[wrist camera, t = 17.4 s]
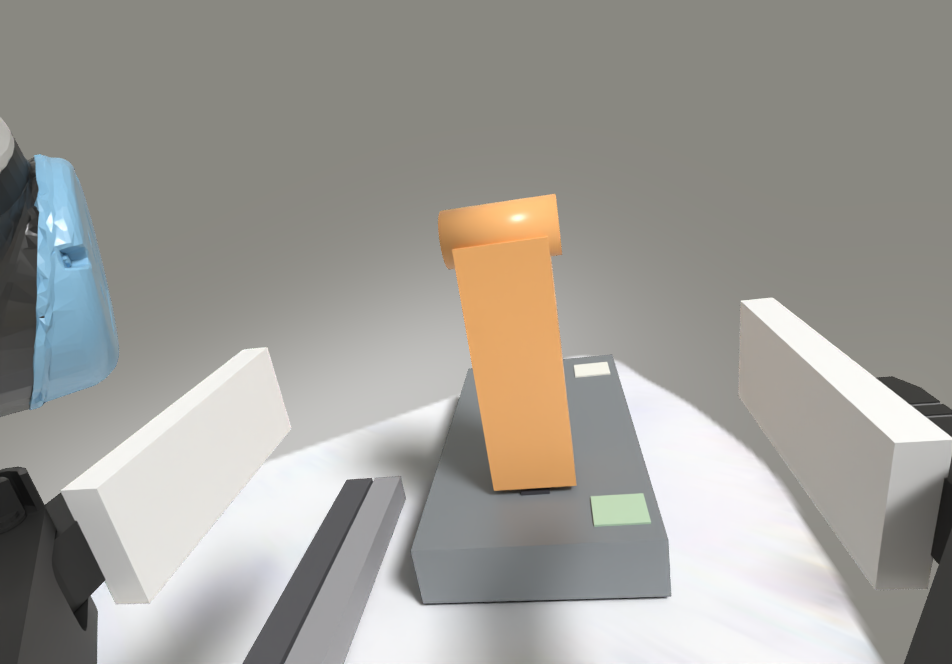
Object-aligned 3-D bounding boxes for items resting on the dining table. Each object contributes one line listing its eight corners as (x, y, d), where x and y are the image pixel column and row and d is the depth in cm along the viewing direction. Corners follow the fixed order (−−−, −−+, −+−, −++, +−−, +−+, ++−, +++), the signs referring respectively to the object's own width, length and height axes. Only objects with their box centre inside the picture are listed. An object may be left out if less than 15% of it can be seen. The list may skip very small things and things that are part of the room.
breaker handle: (483, 491, 27) (434, 216, 23) (489, 457, 30) (446, 206, 25) (587, 484, 26) (556, 197, 22) (582, 450, 29) (554, 190, 25)
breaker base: (423, 603, 25) (409, 548, 24) (474, 402, 44) (468, 366, 43) (671, 596, 23) (668, 536, 22) (615, 390, 42) (611, 352, 41)
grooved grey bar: (231, 736, 21) (218, 705, 20) (352, 501, 34) (346, 479, 33) (315, 737, 20) (304, 706, 20) (405, 498, 33) (400, 476, 33)
